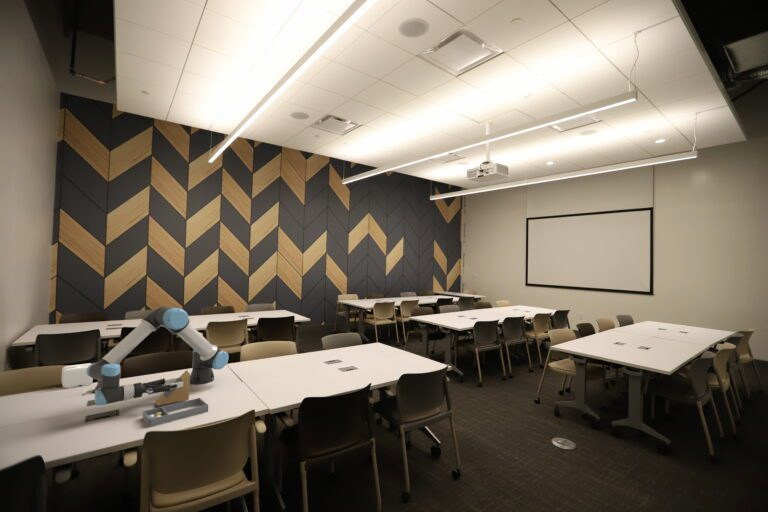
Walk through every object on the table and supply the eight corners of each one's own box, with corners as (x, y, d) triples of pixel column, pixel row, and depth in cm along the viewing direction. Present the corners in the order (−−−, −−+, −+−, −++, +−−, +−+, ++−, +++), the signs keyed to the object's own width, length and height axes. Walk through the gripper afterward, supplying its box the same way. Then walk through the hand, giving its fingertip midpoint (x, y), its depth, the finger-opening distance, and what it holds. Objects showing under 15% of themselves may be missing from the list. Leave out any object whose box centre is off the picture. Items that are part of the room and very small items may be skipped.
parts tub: (199, 404, 200) (199, 397, 200) (208, 411, 191) (208, 404, 191) (142, 418, 181) (143, 411, 181) (149, 426, 172) (149, 419, 172)
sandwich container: (155, 400, 199) (156, 373, 200) (185, 394, 209) (187, 369, 209) (157, 405, 193) (158, 378, 193) (188, 399, 202) (190, 373, 203)
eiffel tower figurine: (116, 387, 221) (117, 366, 222) (113, 393, 212) (114, 371, 213) (86, 391, 215) (87, 368, 215) (81, 397, 206) (82, 373, 206)
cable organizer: (60, 389, 214) (61, 370, 214) (61, 384, 222) (62, 366, 222) (92, 384, 224) (93, 366, 224) (92, 380, 232) (93, 362, 232)
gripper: (128, 392, 194) (174, 383, 211) (137, 404, 180) (186, 393, 196) (128, 379, 195) (175, 370, 211) (137, 389, 180) (186, 380, 196)
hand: (180, 381), depth 203 cm, fingers closed on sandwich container, 8 cm apart
